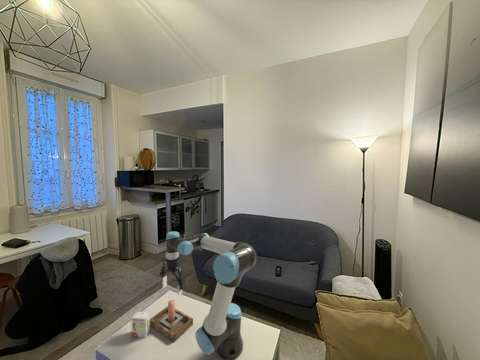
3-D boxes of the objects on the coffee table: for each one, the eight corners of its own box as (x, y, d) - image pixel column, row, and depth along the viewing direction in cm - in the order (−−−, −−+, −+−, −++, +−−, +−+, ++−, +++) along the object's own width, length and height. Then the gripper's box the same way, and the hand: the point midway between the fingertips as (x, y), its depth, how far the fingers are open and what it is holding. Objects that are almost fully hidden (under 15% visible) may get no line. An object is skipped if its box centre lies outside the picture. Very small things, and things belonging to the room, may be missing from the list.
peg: (176, 322, 124) (176, 301, 123) (170, 327, 121) (171, 305, 120) (171, 320, 126) (171, 299, 125) (166, 324, 123) (166, 302, 122)
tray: (192, 324, 125) (192, 318, 124) (174, 342, 112) (174, 335, 111) (169, 310, 136) (169, 305, 135) (149, 325, 123) (149, 319, 122)
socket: (183, 321, 125) (183, 317, 125) (170, 332, 117) (170, 328, 117) (172, 315, 130) (172, 310, 130) (159, 325, 122) (159, 320, 122)
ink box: (131, 336, 114) (131, 317, 113) (135, 329, 119) (135, 311, 118) (145, 338, 114) (145, 318, 113) (149, 330, 119) (150, 312, 118)
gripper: (192, 260, 118) (191, 294, 119) (163, 250, 130) (163, 281, 132) (182, 265, 111) (182, 301, 113) (153, 254, 124) (153, 286, 125)
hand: (172, 290), depth 122 cm, fingers open, 13 cm apart
